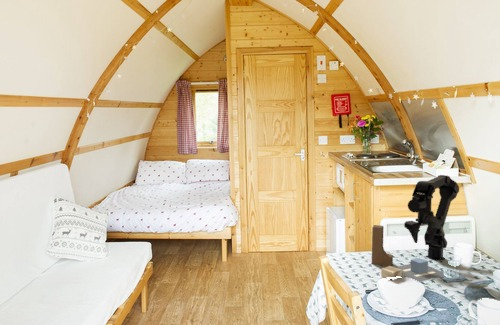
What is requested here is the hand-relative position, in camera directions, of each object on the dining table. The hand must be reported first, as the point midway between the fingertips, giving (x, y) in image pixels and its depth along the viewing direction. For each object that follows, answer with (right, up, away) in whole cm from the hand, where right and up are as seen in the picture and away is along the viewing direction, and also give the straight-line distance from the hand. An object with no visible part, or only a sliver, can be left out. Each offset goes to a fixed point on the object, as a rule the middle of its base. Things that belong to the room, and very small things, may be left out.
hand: (423, 241), depth 203 cm
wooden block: (-19, -11, +2) cm, 22 cm away
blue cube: (-5, -12, -9) cm, 16 cm away
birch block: (-20, -13, -15) cm, 28 cm away
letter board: (-5, -12, -9) cm, 16 cm away
